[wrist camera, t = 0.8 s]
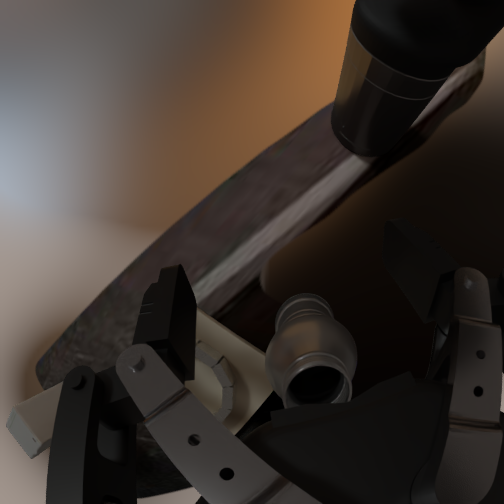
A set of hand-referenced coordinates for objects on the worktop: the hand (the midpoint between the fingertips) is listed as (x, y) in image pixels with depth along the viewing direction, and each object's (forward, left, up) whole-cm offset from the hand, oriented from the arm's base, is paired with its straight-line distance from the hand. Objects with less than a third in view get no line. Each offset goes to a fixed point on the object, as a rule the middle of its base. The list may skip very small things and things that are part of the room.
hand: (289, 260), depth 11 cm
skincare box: (+38, -15, -23) cm, 46 cm away
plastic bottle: (+5, +5, -23) cm, 24 cm away
